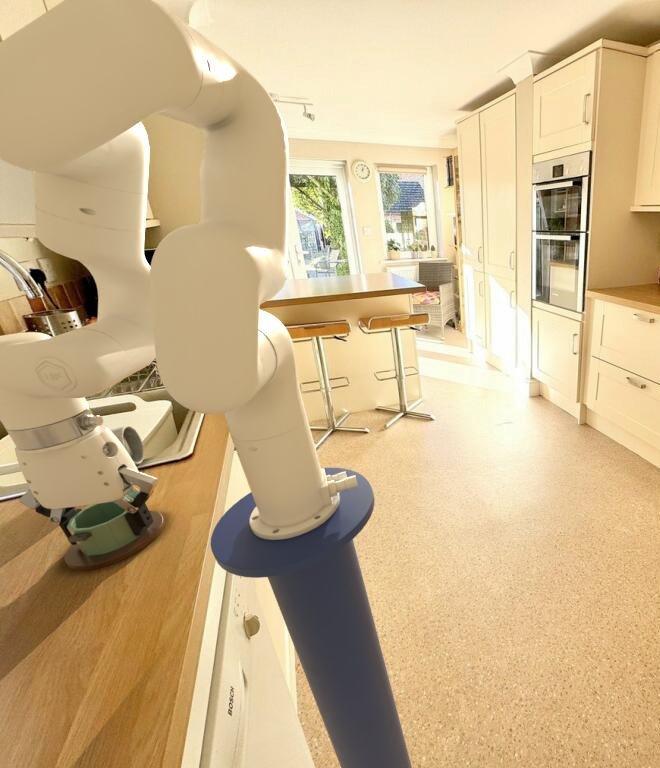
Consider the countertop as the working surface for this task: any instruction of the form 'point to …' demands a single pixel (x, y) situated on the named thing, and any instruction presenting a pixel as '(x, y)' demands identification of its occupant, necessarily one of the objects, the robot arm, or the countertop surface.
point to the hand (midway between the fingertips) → (114, 532)
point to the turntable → (86, 562)
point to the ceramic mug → (130, 442)
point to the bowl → (101, 528)
